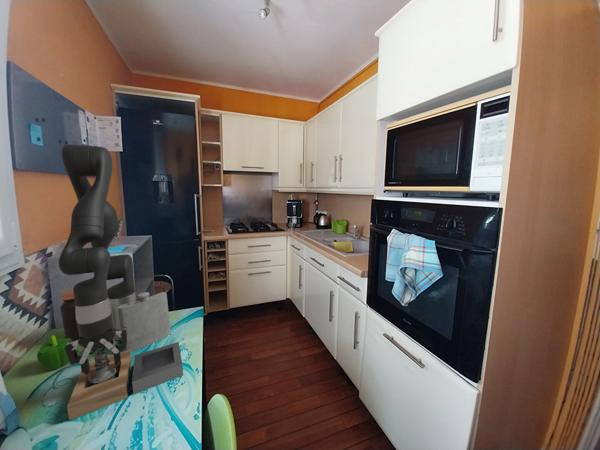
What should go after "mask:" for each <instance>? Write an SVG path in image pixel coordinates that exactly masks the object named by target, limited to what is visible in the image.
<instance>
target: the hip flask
mask: <svg viewBox="0 0 600 450" xmlns="http://www.w3.org/2000/svg"><path fill="white" fill-rule="evenodd" d="M137 298H138V299H136V300H135V301H132V302H129V303H127V304H123V305H120V306H119V307H118V313H119V321H120V328H121V329H123V327H127V344H126V348H125V349H123V351H127V350H131V353H132V352H133V353H134V352H136V351H138V350H141V349H143V348H146V347H148V346H150V345H152V344H154V343H156V342H158V341H160V340H162V339H164V338H167V337H168V336H169V335H171V333H172V332H171V331H172V330H171V322H170V316H169V315H170V313H169V305H168V304H169V303H168V294H167V292H166V291H162V292H159V293H156V294H154V295H151V296H150V292H148V291H147V292H146V291H144V292H141V293H139V294H138V295H137Z"/></svg>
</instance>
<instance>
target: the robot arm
mask: <svg viewBox="0 0 600 450" xmlns="http://www.w3.org/2000/svg"><path fill="white" fill-rule="evenodd" d="M61 159H62V164H63V165H64V169H65V171H66V174H67V176H68V178H69V181H70V183H71V185H72V188H73V191H74V193H75V196H76V199H77V203H76V204H75V206H74V207H73V209H72V212H71V219H70V231H69V232H70V233H69V236H68V238H67V240H66V242H65V245H64V247H63V249H62V251H61V253H60V256H59V258H58V267H59V268H58V269H59V270H60V271H61V272H62V274H64V275H67V276H77V275H83V274H93V277H91V278H88V279H85V280H81V281H79V282H78V283H75V284H74V286H73V289H72V290H73V293H74V299H75V305H76V321H77V325H78V331H79V340H76V341H69V342H68V343H67V345H66V347H65V351H66V353H67V356H68V359H69V364H70V365H71V366H72V365H75V364H79V365H80V370H82V373H85V375H86V374H89V371H90V366H89V362H90V361H89V357H88V356H89V355H90V352H94V351H97V350H102V349H104V348H107V349H108V350H110V351H111V352H112V353H113V355H114V362H115V365H117V364H118V362H120V360H121V353H120V352H122V350H124V349H125V348H126V344H127V327H123V329H121V328H120V321H119V313H118V307H119V306H120V305H123V304H127V303H129V302H132V301H135V300H137V296H136V288H135V280H134V279H135V278H134V263H133V262H134V261H133V258H132V256H131V255H130V254H127V253H126V254H118V255H117V254H116V255H111V252H110V251H109V250H108V248H109V246H110V245H111V243H112V242H113V240H114V238H115V237H116V236H117V234H118V232H119V230H120V221H119V218H118V213H117V210H116V208H115V207H114V206H113V205H112V203H110V202H109V201H108V200H107V197H108V194H109V190H110V185H111V184H110V183H111V181H112V174H113V168H114V167H113V165H114V164H113V158H112V154H111V152H110V151H109V149H107V148H106V147H104V146H99V145H98V146H97V145H85V144H81V145H80V144H66V145H63V147H62V149H61ZM88 177H95V180H94V182H93V184H92V185H91V183H90V181H89V178H88ZM89 243H90V245H91V247H85V246H86V245H87V244H89ZM118 279H123V280H122V281H120V282H119V283H116V284H115V285H112V286H111V287H109V288H107V285H108V284H107V281H112V280H118ZM116 341H120V344H118V343H117V342H116ZM78 345H79V346H80V347H83V348H84V352H83V353H82V355H79V354H78V352H77V347H78Z"/></svg>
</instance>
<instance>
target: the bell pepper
mask: <svg viewBox="0 0 600 450" xmlns="http://www.w3.org/2000/svg"><path fill="white" fill-rule="evenodd" d="M50 339H51V341H49V342H45V343H43V344H42V345H41V347H40V348H39V350H38V351H37V354H36V359H37V361H38V363H39V364H40V366H41V367H42V368H43V369H44V370H46V371H54V370H57V369H59V368H60V367H62V366H65V365H67V364H69V363H70V361H69V359H68V356H67V353H66V351H65V347H66V345H67V343H68V342H69V341H72V340H71V339H70V338H67V339H66V338H64V339H63V338H59V337H58V338H56V336H55V335H54V334H53V335H51V336H50Z"/></svg>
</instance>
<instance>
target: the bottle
mask: <svg viewBox="0 0 600 450" xmlns="http://www.w3.org/2000/svg"><path fill="white" fill-rule="evenodd" d="M61 300H62V301H63V303H62V304H61V306H60V313H61V319H62V324H63V329H64V336H65V339H67V338H70V339H71V340H72V341H76V340H79V331H78V325H77V321H76V305H75V299H74V293H73V289H70V290H66V291H64V292H62V293H61Z"/></svg>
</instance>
